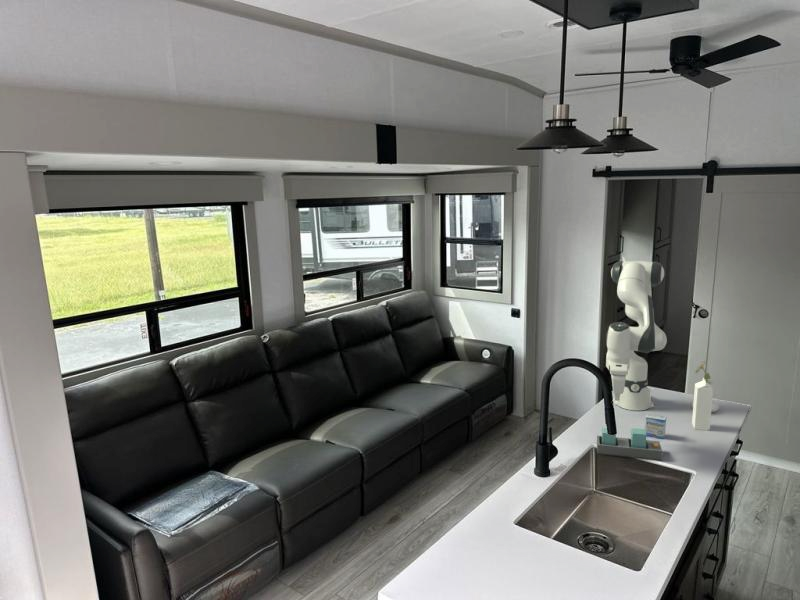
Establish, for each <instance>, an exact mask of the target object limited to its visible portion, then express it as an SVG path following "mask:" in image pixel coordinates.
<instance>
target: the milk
mask: <svg viewBox="0 0 800 600" xmlns="http://www.w3.org/2000/svg"><path fill="white" fill-rule="evenodd" d="M704 378H705V377H703V378H702V380H703V381H700V380H699V381H698V382H695V384H694V391H693V392H694V394H693V401H694V403H693V406H692V419H691V425H692V426H693V428H694V430H701V431H710V430H711V419H712V412H711V409H712V400H713V396H714V395H713V394H714V388H713V387H712V385H710V384H708V383H706V381H705V380H706V379H704Z"/></svg>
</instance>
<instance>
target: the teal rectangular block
mask: <svg viewBox="0 0 800 600" xmlns="http://www.w3.org/2000/svg"><path fill="white" fill-rule="evenodd" d="M607 428H608V427H602V429H601V436H602V444H603V445H613V446H615V444H616V437H617V434H616V435H609V434H608V433H607Z"/></svg>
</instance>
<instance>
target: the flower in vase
mask: <svg viewBox="0 0 800 600" xmlns="http://www.w3.org/2000/svg"><path fill="white" fill-rule="evenodd" d="M706 363H707V360H706V359H704V360H703V361H702V363H701V365H699V366H698V368H697V369H696V370H695V372H694V373H695V374H698V373H699V372H700V371H701V370H703V372H704V377H703V378H704V379H705V381H706V383H708V384H710V385H711V386H712V384H714V381H712V380H710V379H711V375H710V373H709V372H707V373H706V370H705V367H704V365H705V364H706ZM701 381H703V379H702V380H701ZM693 403H694V400H692V402H691V406H692V407H693ZM719 409H720V406H719V405H718V403H717V402H716V401H715V400H713V399H712V409H711V413H713V412H715V413H716V412H717V411H718V410H719Z"/></svg>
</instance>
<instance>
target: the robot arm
mask: <svg viewBox="0 0 800 600" xmlns="http://www.w3.org/2000/svg"><path fill="white" fill-rule="evenodd" d="M610 275H611V279H612V281H613V282H614V283H616V284H617V285H616V286H617V287H616V288H617V290H616V293H617V294H616V295H617V297H618V299H619V300H620V301H621V302H622V303H623V304H624V305H625V307H624V313H625V315H626V316H627V317H628V318H629V319H631V320H632V321H635V322H637V324H638V326H630V325H629V324H628V323H626V322H622V321H617V322H612V323H611V324H610V325H609V327H608V330H607V331H606V335H605V344H606V347H607V352H606V357H605V358H606V359H605V367H606V368H607V370H608V371H609V373H610V375H611V376H610V377H611V383H612V384H611V385H612V393H613V394H614V396H613V399H612V401H614V404H613V405H615V406H618V407H620V408H622V409H624V410H627V411H628V410H629V411H636V412H637V411H646V410H647V409H648V410H649V409H650V408H655V404H654V402H652V400H651V397H652V396H651V393H652V391H651V389H650V388H649V387H648V385H649V384H648V383H649V381H648V380H649V379H648V362H647V360H646V359H645V358H644V357H642V356H639V355H638V354H637V353H635V352H639V353H645V354H649V353H650V352H657V351H661V350H663V349H665V347H666V345H667V342H668V340H667V335H666V332H664V331H663V329H661V328H660V327H659V326H658V325H657V324H656V323H655V313H654V312H655V311H654V306H653V305H654V304H653V299H652V293H653V292H652V288H654V287H655V286H658V285H659V284H661V283H662V281H663V279H664V277H665V270H664V267H663V264H662V263H661V262H658V261H647V260H629V261H623V260H622V261H616V262H615V263H613V264H612V268H611V270H610Z"/></svg>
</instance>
